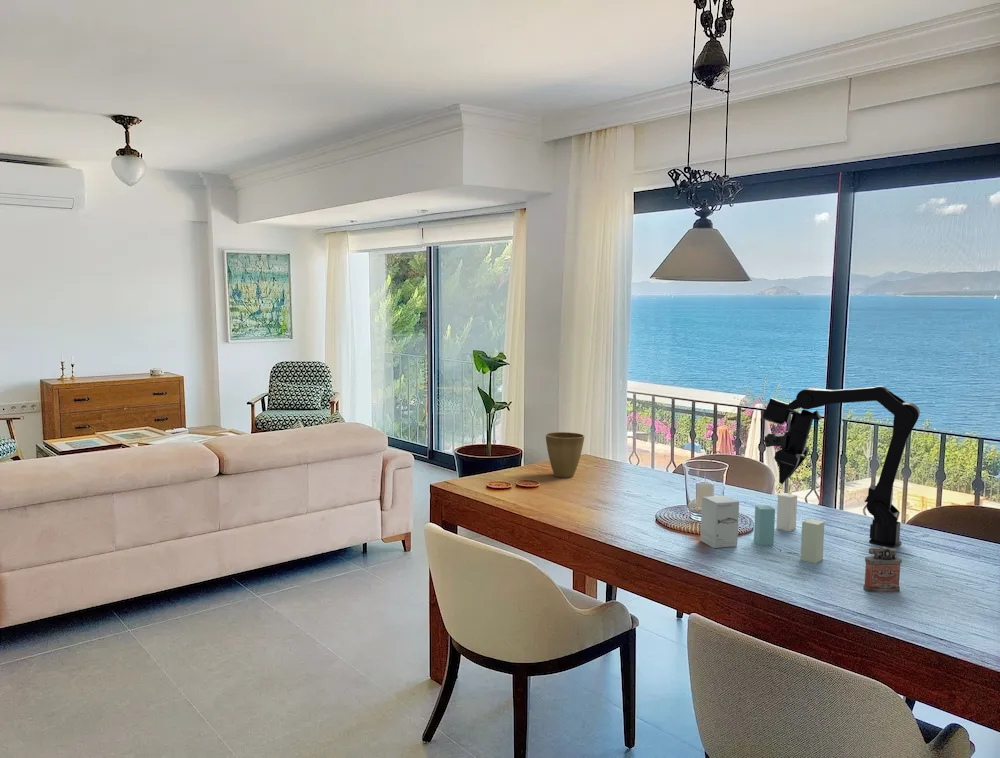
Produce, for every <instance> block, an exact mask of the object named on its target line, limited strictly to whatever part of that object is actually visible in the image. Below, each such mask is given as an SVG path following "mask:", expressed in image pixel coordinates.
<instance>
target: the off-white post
mask: <svg viewBox="0 0 1000 758" xmlns="http://www.w3.org/2000/svg"><path fill="white" fill-rule="evenodd" d="M776 506H777V508H776V509H777V510H776V529H778V530H782V531H787V532H791V531H793V530H796V528H797V510H798V509H797V507H798V495H796V494H791V493H786V492H783V493H779V494H777V505H776Z"/></svg>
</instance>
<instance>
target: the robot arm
mask: <svg viewBox="0 0 1000 758" xmlns="http://www.w3.org/2000/svg"><path fill="white" fill-rule="evenodd" d="M858 402H859V403H862V402H877V403H879V404H880V405H881V406H883V407H884V408H885V409H886V410H887V411H888V412H890V414H892V415H893V423H892V436H891V440H890V442H889V445H888V449H887V452H886V457H885V459H884V463H883V466H882V469H881V473H880V475H879V479H878V482H877V484H876V485H874V484H872V483H870V486H869V487H868V494H867V496H866V497H865V500H864V502H865V503H866V510H867V511H868V513H869V514H870V515H871V516H872V517H873V519H872V523H871V524H870V525H869V527H870V528H869V540H868V542H869V543H872V544H876V545H881V546H883V547H889V548H896V547H897V546H899V545H900V544H902V540H900V537H901V521H898V520H899V517H900V515H901V512H900V511H899V510H898V509H897V507H895V505H894V504H893V497H894V496H893V495H894V494H893V493H894V484H895V480H896V477H897V473H898V471H899V468H900V467H899V466H900V463H901V460H902V457H903V454H904V451H905V447H906V444H907V441H908V438H909V436H910V434H911V432H912V431H913V429H914V427H915V425H916V423H917V422H918V420H919V417H920V414H921V412H920V409H919V407H918V406H917V405H916V404H915V403H914V402H913V403H912V402H910V401H909V402H908V401H905V400H903V399H902V398H901V397H899V396H898V395H896V394H895V393H893V392H892V391H891V390H890V389H888V388H887V387H886V386H884V385H877V386H872V387H871V386H869V387H857V388H845V389H844V388H843V389H827V388H826V389H825V388H818V387H806V388H804V389H802V390H800V391H798V393H797V394H796V397H795V399H794V400H792V401H789V402H785V401H781V400H779V399H776V398H773V397H771V398H769V401H768V403H767V405H766V408H765V409H764V412H763V417H762V419H763V420H764V421H766V422H770V423H773V424H776V425H780V426H783V425H785V424H788V423H789V426H788V429H787V431H785V432H784V433H768V434H766V435H764V436H763V437H764V438H763V439H764V440H763V442H764V445H765V448H770V447H779V449H778V450H777V451H775V454H774V457H773V459H774V461H775V462H776V463H777V464H778V466H779V468H778V469H779V471H778V473H779V474H778V477H779V478H778V483H779V484H782V485H783V484H784V483H785V482H786V481H787V479H789V478H791V476H793V474H794V473H795V472H796V470H798V468H799V467H800V466H801V464H802V463H803V462H804V461H805V459H807V456H808V454H809V451H810V449H809V447H808V445H807V442H808V440H809V439H810V432H811V428H812V425H813V421H814V420H816V421H820V420H821V419H822V416H821V415H820V413H819V411H818V409H817V410H815V411H810V410H811V409H815V408H821V407H824V406H827V405H832V404H845V403H858ZM797 409H798V410H797ZM799 409H802V410H799Z"/></svg>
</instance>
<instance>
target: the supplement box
mask: <svg viewBox="0 0 1000 758" xmlns="http://www.w3.org/2000/svg"><path fill="white" fill-rule="evenodd" d="M739 511H740V501H739V500H736V499H734V498H733V497H732V498H731V497H729V496H727V495H716V496H715V495H714V496H713V495H712V496H702V497H701V511H700V512H701V514H700V517H701V518H700V539H699V540H700V542H702V543H704V544H706V545H708V546H709V547H711V548H712V549H718V548H719V549H720V548H729V547H738V540H739V537H738V536H739V535H738V533H739V515H740V514H739V513H740V512H739Z"/></svg>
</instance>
